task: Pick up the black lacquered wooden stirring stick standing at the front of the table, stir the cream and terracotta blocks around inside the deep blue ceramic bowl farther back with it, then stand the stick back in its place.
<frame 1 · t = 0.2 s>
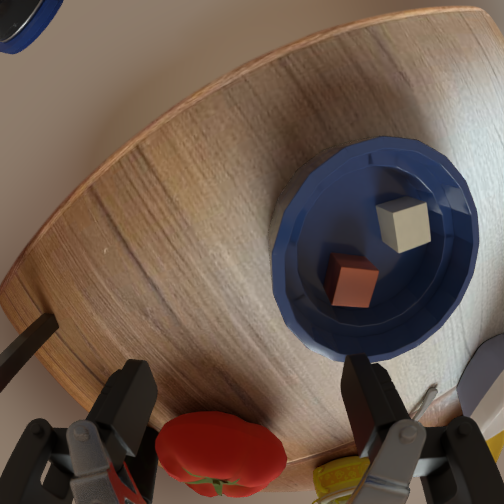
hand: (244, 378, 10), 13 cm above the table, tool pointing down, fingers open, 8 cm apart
block b: (344, 271, 22), point 1 cm above the table, touching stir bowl
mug: (337, 463, 35), on the table
vase: (459, 425, 34), on the table
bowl: (484, 361, 28), on the table
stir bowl: (365, 240, 22), on the table
tomato: (223, 427, 31), on the table
stick: (51, 320, 26), on the table
spoon: (411, 413, 30), on the table
cup: (145, 432, 32), on the table
block a: (394, 218, 20), point 1 cm above the table, touching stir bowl
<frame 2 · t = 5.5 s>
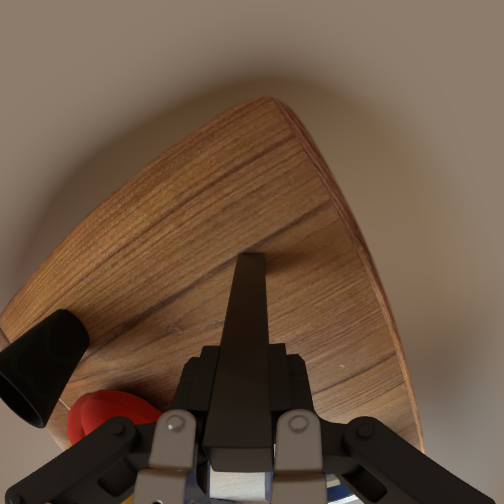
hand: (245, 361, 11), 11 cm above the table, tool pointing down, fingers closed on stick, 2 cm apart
vase: (145, 496, 44), on the table
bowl: (214, 503, 42), on the table
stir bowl: (316, 463, 32), on the table
tomato: (133, 410, 29), on the table
stick: (251, 265, 21), on the table, touching gripper
cup: (70, 329, 25), on the table
block a: (327, 469, 32), point 1 cm above the table, touching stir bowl
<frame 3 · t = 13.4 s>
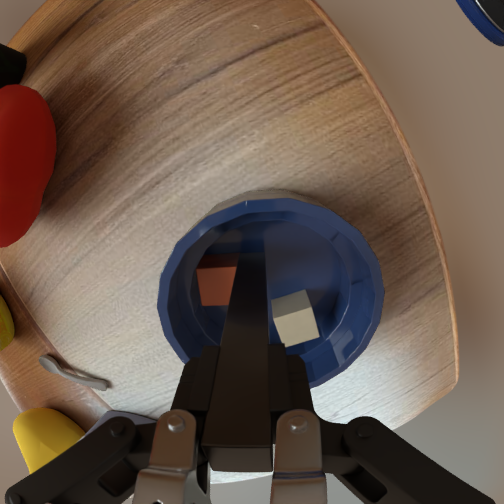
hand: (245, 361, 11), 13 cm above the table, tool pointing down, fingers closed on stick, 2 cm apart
block b: (223, 270, 23), point 1 cm above the table, touching stick, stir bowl
vase: (66, 424, 36), on the table
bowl: (141, 431, 33), on the table
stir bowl: (269, 283, 24), on the table
tomato: (29, 161, 21), on the table
stick: (253, 264, 21), point 2 cm above the table, touching block b, gripper
spoon: (73, 369, 30), on the table
cup: (14, 73, 17), on the table
block a: (292, 309, 25), point 1 cm above the table, touching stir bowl
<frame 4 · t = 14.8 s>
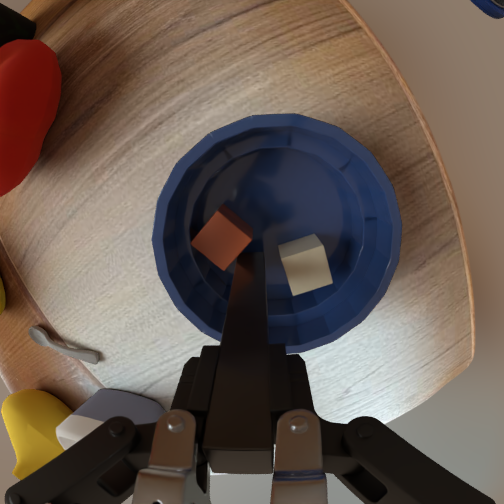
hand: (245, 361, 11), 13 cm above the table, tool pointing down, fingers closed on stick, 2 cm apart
block b: (225, 230, 22), point 1 cm above the table, touching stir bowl
vase: (58, 408, 34), on the table
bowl: (136, 413, 32), on the table
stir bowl: (276, 227, 23), on the table
tomato: (32, 117, 19), on the table
stick: (251, 264, 21), point 2 cm above the table, touching gripper
spoon: (64, 341, 28), on the table
cup: (22, 40, 15), on the table
block a: (301, 256, 23), point 1 cm above the table, touching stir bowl
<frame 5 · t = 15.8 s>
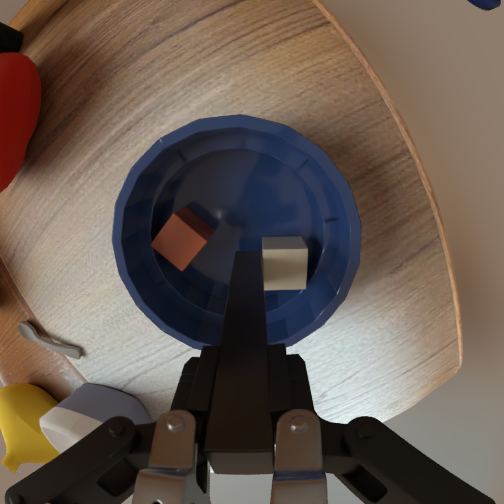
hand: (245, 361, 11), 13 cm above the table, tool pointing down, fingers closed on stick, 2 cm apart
block b: (188, 232, 22), point 1 cm above the table, touching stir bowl
vase: (49, 402, 35), on the table
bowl: (118, 408, 32), on the table
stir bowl: (238, 228, 23), on the table
tomato: (18, 124, 19), on the table
stick: (249, 262, 21), point 2 cm above the table, touching block a, gripper
spoon: (50, 336, 28), on the table
cup: (11, 50, 15), on the table
block a: (281, 255, 23), point 1 cm above the table, touching stick, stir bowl
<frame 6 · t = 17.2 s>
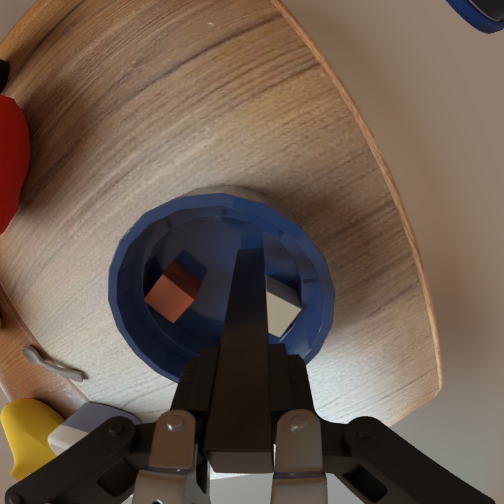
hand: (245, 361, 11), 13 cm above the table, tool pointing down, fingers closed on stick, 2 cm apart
block b: (178, 283, 24), point 1 cm above the table, touching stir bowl
vase: (52, 415, 36), on the table
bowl: (118, 424, 33), on the table
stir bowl: (224, 280, 24), on the table
tomato: (10, 163, 20), on the table
stick: (251, 260, 21), point 2 cm above the table, touching gripper
spoon: (53, 360, 30), on the table
block a: (271, 296, 24), point 1 cm above the table, touching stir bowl
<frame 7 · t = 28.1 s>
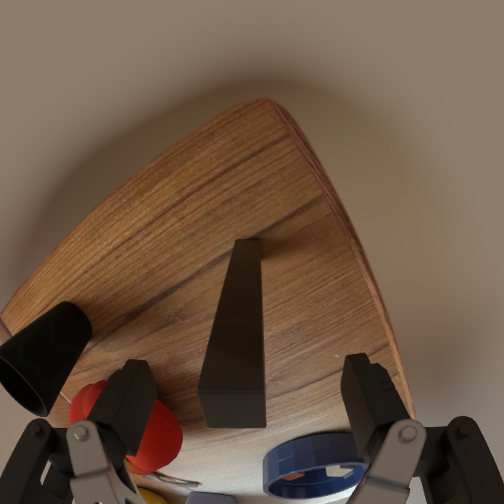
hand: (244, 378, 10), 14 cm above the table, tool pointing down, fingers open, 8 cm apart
block b: (289, 460, 33), point 1 cm above the table, touching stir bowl
vase: (144, 492, 45), on the table
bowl: (213, 498, 43), on the table
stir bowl: (314, 455, 34), on the table
tomato: (134, 401, 30), on the table
stick: (248, 250, 22), on the table
spoon: (169, 477, 39), on the table
cup: (74, 321, 26), on the table
block a: (337, 458, 33), point 1 cm above the table, touching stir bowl
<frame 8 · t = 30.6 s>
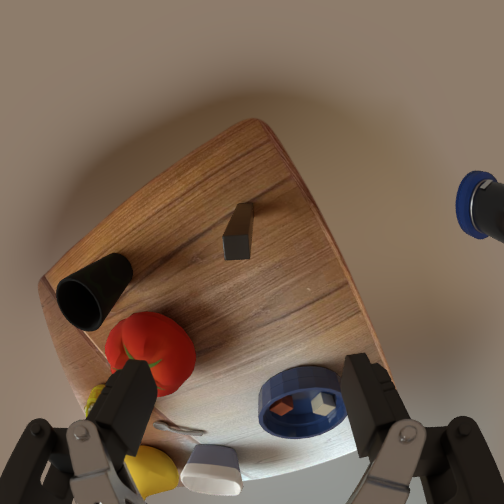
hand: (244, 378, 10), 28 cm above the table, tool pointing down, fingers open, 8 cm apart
block b: (280, 397, 47), point 1 cm above the table, touching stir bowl
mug: (116, 394, 50), on the table
vase: (152, 452, 59), on the table
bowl: (215, 453, 57), on the table
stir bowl: (301, 393, 47), on the table
tomato: (157, 337, 44), on the table
stick: (245, 210, 36), on the table
spoon: (178, 426, 53), on the table
cup: (118, 269, 39), on the table
block a: (321, 398, 47), point 1 cm above the table, touching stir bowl
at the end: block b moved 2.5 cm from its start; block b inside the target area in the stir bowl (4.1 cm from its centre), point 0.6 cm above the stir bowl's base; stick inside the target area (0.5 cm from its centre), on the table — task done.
